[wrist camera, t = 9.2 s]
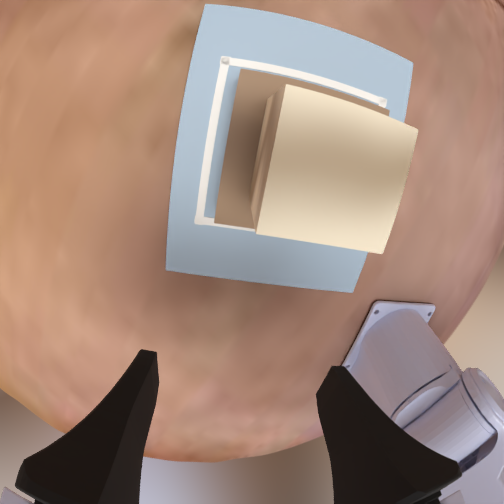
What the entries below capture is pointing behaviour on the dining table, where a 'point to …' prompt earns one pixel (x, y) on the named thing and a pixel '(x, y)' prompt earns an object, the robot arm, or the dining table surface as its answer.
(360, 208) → the maple cube
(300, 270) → the blueprint board
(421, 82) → the dining table surface
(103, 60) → the dining table surface
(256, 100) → the walnut base block
